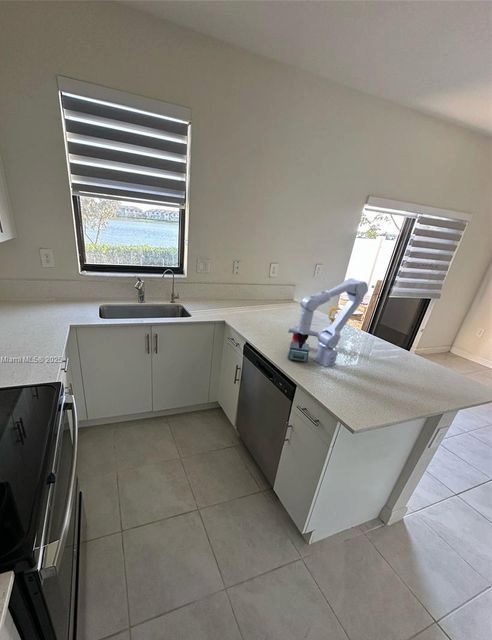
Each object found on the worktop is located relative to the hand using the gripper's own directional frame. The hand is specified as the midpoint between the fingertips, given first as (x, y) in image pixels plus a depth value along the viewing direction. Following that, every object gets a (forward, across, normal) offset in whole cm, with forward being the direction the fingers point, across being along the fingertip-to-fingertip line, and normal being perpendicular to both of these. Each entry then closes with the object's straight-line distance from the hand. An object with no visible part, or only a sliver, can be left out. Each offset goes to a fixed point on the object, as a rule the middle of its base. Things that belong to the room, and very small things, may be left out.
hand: (300, 347), depth 146 cm
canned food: (+9, 0, +25) cm, 27 cm away
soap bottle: (+9, +17, +31) cm, 36 cm away
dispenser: (+8, 0, +8) cm, 12 cm away
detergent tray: (+8, 0, +4) cm, 8 cm away
